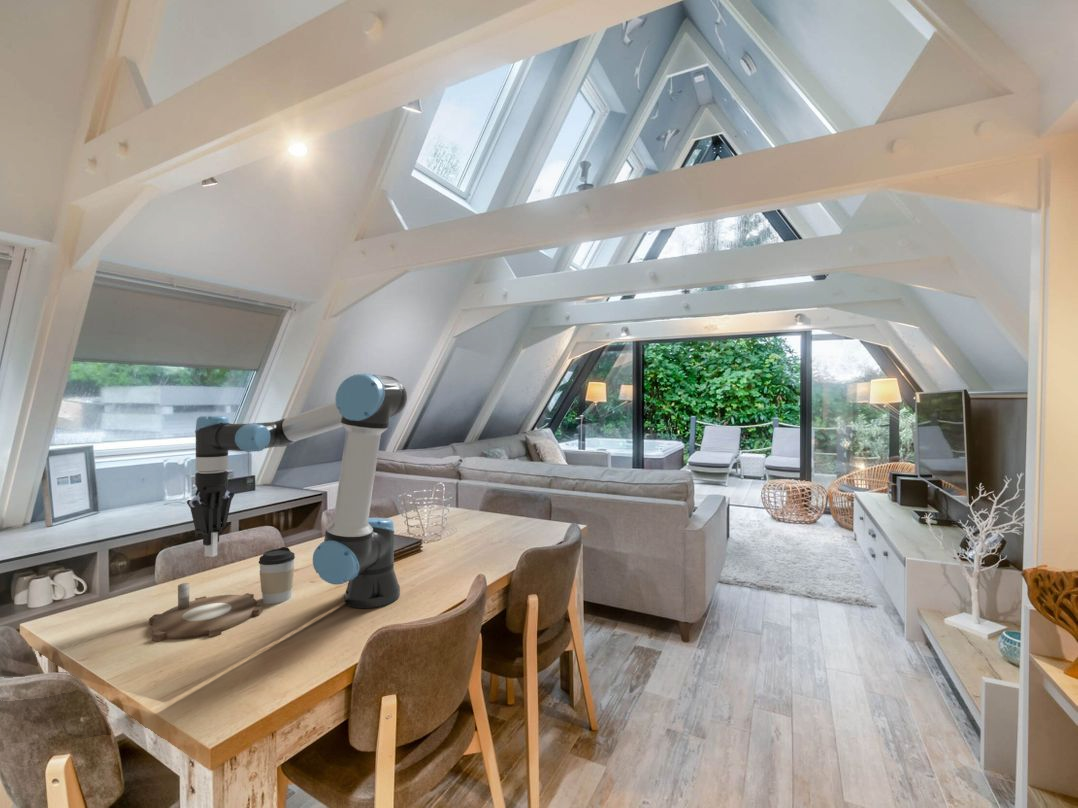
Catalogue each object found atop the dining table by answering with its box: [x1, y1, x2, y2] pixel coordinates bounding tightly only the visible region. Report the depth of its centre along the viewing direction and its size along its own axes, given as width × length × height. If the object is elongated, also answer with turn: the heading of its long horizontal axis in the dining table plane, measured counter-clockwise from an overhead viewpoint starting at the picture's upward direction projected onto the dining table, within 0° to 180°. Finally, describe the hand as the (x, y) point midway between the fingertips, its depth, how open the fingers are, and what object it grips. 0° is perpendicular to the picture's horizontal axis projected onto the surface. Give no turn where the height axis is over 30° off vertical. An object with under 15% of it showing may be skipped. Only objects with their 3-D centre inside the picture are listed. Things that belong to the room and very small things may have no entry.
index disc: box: [148, 582, 263, 642], centre depth 123 cm, size 23×25×8 cm
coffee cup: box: [258, 546, 296, 605], centre depth 135 cm, size 9×9×15 cm
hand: (211, 555), depth 134 cm, fingers closed
